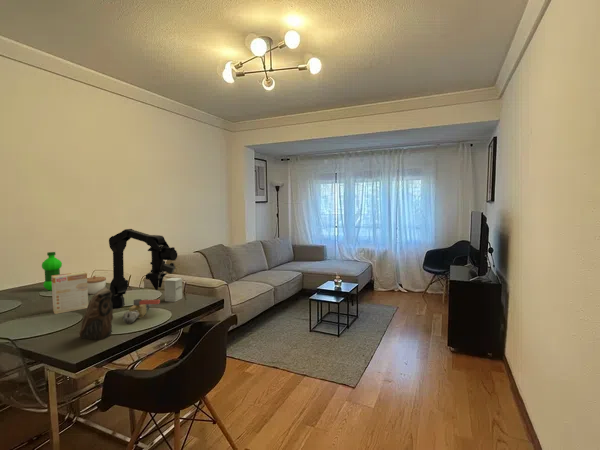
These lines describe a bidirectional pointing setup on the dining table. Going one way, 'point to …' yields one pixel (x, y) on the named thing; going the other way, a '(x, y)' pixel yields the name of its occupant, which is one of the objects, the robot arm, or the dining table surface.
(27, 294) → the dining table surface
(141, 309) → the valve body
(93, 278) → the lidded bowl
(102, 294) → the owl
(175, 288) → the supplement box
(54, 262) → the plastic bottle
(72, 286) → the coffeecake box
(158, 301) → the lever
